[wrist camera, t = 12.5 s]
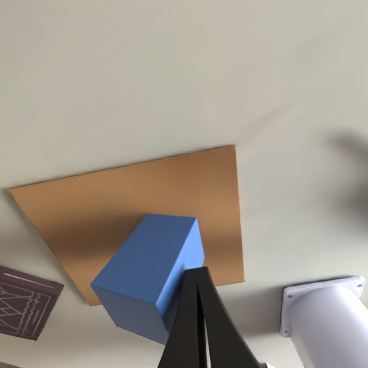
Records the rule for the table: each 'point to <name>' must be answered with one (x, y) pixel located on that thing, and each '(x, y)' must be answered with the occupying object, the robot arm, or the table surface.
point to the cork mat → (139, 212)
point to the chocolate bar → (25, 303)
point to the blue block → (150, 275)
